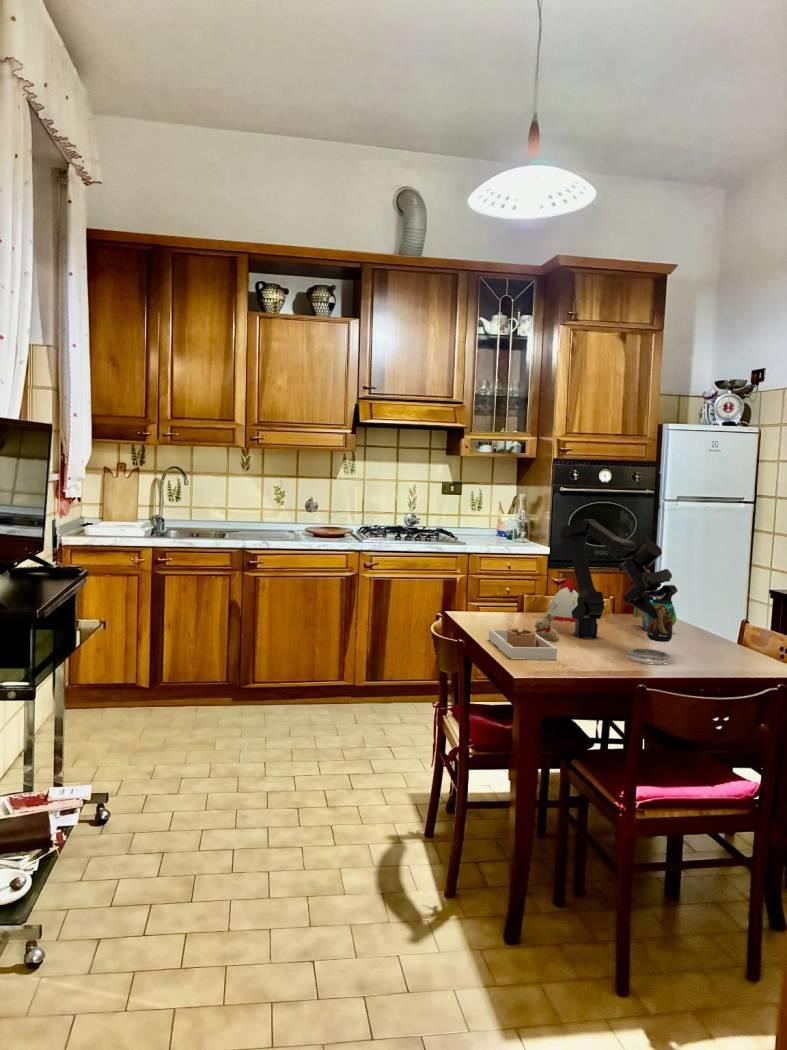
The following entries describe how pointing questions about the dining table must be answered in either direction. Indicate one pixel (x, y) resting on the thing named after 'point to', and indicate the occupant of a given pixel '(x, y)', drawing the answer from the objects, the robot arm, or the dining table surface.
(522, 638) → the bracket
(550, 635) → the chocolate bunny
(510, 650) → the gray rectangular tray
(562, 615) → the kitchen timer
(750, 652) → the dining table surface
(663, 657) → the shallow metal dish
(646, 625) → the snack cup
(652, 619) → the beverage can
